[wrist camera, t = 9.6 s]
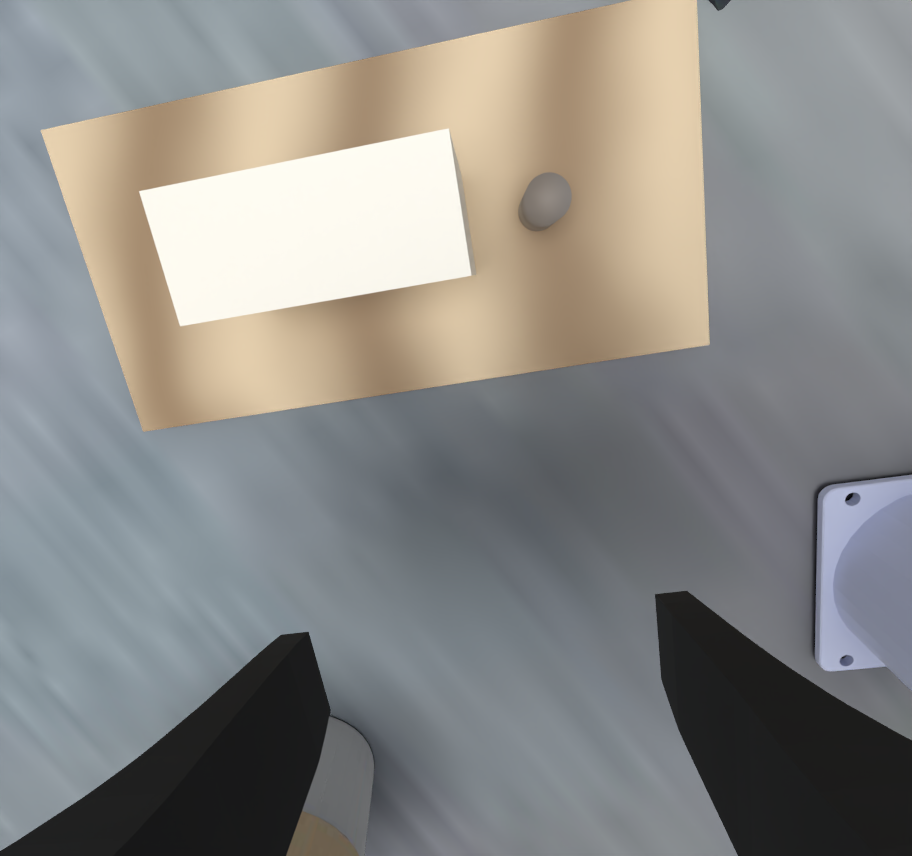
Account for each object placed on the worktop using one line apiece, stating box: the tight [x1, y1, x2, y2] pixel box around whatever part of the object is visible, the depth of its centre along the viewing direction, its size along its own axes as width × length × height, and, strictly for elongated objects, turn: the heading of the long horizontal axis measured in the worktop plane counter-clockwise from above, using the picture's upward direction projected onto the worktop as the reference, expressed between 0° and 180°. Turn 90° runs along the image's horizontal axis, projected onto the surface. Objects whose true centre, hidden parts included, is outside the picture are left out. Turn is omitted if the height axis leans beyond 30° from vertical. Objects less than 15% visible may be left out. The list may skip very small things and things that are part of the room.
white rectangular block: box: [139, 128, 477, 326], centre depth 14 cm, size 7×3×6 cm, turn 99°
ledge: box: [41, 0, 710, 432], centre depth 16 cm, size 20×10×4 cm, turn 99°
